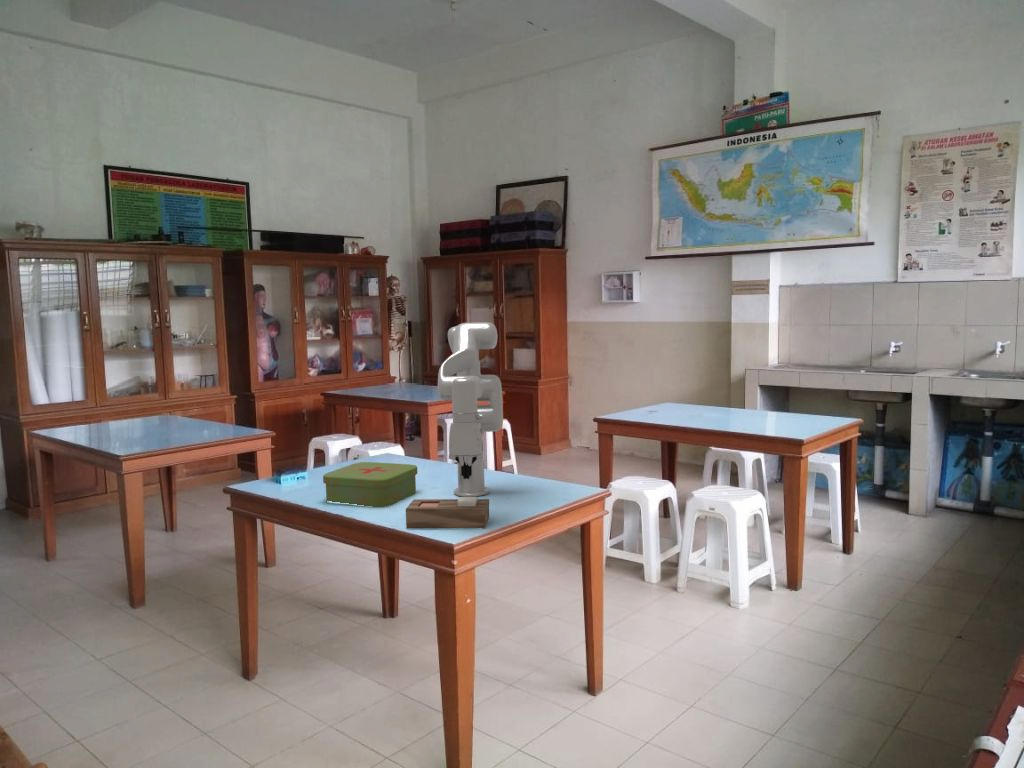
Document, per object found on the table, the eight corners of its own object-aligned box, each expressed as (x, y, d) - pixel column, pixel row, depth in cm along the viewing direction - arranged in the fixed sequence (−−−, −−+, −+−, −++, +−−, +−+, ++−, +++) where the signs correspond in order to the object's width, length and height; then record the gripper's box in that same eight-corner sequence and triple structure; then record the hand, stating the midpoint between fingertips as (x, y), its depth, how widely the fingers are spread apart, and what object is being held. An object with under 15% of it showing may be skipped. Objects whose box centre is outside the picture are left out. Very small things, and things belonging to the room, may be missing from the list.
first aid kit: (360, 487, 287) (359, 461, 286) (422, 491, 278) (421, 464, 277) (319, 503, 263) (318, 475, 262) (385, 509, 253) (384, 480, 252)
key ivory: (460, 511, 236) (460, 497, 236) (477, 511, 236) (477, 496, 235) (457, 515, 231) (457, 501, 230) (475, 515, 230) (475, 501, 230)
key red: (422, 517, 237) (422, 503, 237) (439, 517, 237) (439, 503, 236) (419, 522, 232) (418, 507, 231) (436, 522, 231) (436, 507, 231)
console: (414, 517, 241) (413, 499, 240) (489, 517, 239) (489, 499, 238) (406, 528, 229) (405, 509, 228) (485, 528, 227) (484, 508, 226)
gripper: (490, 416, 233) (492, 475, 235) (442, 417, 235) (444, 476, 236) (488, 419, 226) (489, 480, 227) (438, 420, 227) (440, 480, 228)
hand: (466, 478), depth 232 cm, fingers closed
